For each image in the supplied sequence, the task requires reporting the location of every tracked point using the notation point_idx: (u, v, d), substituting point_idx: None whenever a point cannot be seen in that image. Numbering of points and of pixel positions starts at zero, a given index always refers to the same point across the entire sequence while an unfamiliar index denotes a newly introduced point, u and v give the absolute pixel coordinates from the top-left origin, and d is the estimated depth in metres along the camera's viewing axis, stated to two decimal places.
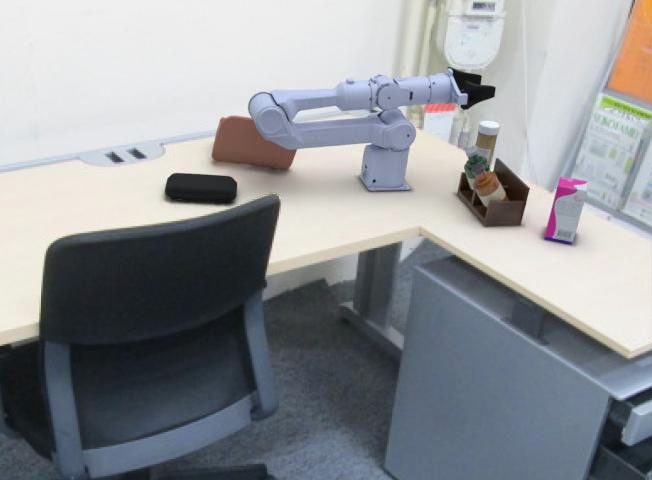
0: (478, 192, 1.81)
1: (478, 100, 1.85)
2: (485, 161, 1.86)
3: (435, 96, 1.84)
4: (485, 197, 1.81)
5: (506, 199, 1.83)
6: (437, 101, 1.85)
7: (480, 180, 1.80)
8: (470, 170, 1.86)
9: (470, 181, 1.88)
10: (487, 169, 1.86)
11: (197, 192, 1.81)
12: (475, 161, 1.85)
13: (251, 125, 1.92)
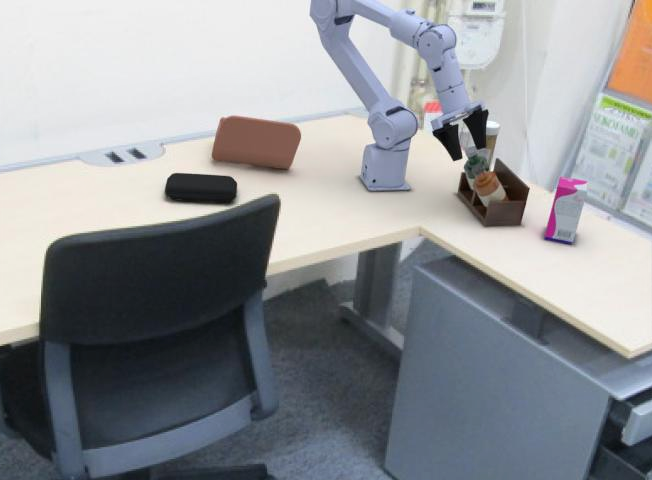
0: (478, 192, 1.81)
1: (445, 144, 1.79)
2: (485, 161, 1.86)
3: (441, 97, 1.77)
4: (485, 197, 1.81)
5: (506, 199, 1.83)
6: (439, 102, 1.79)
7: (480, 180, 1.80)
8: (470, 170, 1.86)
9: (470, 181, 1.88)
10: (487, 169, 1.86)
11: (197, 192, 1.81)
12: (475, 161, 1.85)
13: (251, 125, 1.92)
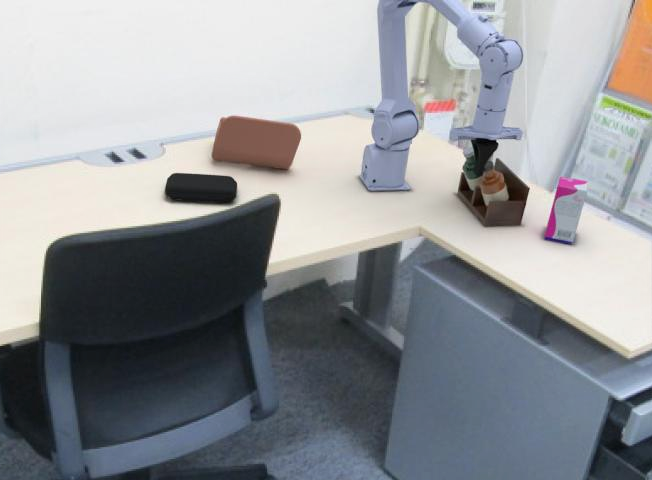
0: (483, 189, 1.81)
1: (475, 154, 1.78)
2: None
3: (476, 111, 1.72)
4: (489, 196, 1.81)
5: None
6: None
7: (487, 177, 1.80)
8: (468, 171, 1.86)
9: (469, 181, 1.88)
10: None
11: (197, 192, 1.81)
12: (473, 162, 1.85)
13: (251, 125, 1.92)
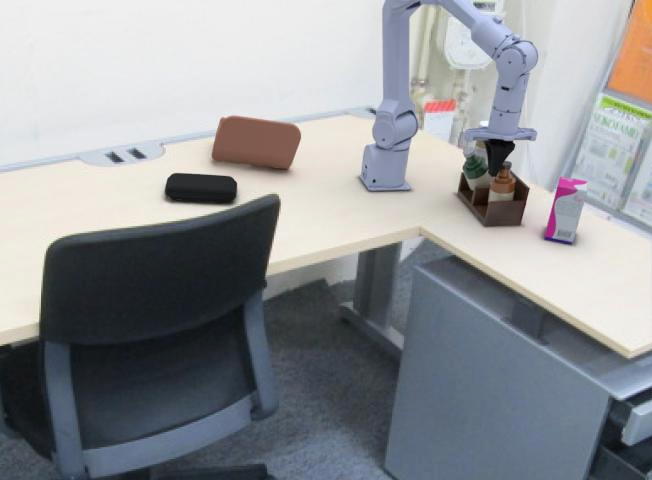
0: (494, 186, 1.81)
1: (488, 154, 1.79)
2: (483, 161, 1.86)
3: (491, 112, 1.73)
4: (497, 194, 1.81)
5: None
6: None
7: (502, 176, 1.80)
8: (468, 171, 1.86)
9: (469, 181, 1.88)
10: (485, 169, 1.86)
11: (197, 192, 1.81)
12: (473, 162, 1.85)
13: (251, 125, 1.92)
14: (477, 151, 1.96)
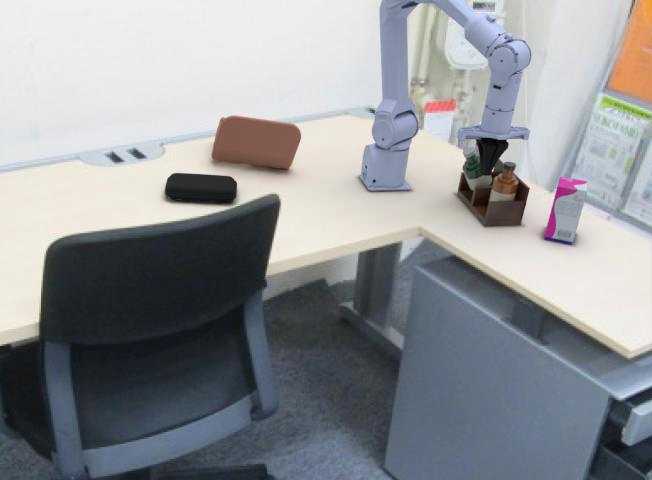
0: (496, 186, 1.81)
1: (480, 153, 1.78)
2: None
3: (484, 111, 1.72)
4: (499, 195, 1.81)
5: None
6: None
7: (505, 177, 1.80)
8: (468, 171, 1.86)
9: (469, 181, 1.88)
10: None
11: (197, 192, 1.81)
12: (473, 162, 1.85)
13: (251, 125, 1.92)
14: (477, 151, 1.96)
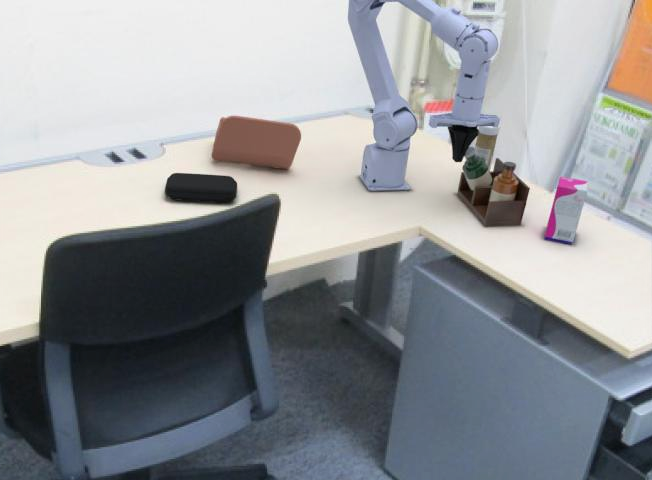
0: (496, 186, 1.81)
1: (452, 140, 1.84)
2: (483, 161, 1.86)
3: (455, 99, 1.78)
4: (499, 195, 1.81)
5: None
6: None
7: (505, 177, 1.80)
8: (468, 171, 1.86)
9: (469, 181, 1.88)
10: (485, 169, 1.86)
11: (197, 192, 1.81)
12: (473, 162, 1.85)
13: (251, 125, 1.92)
14: (477, 151, 1.96)
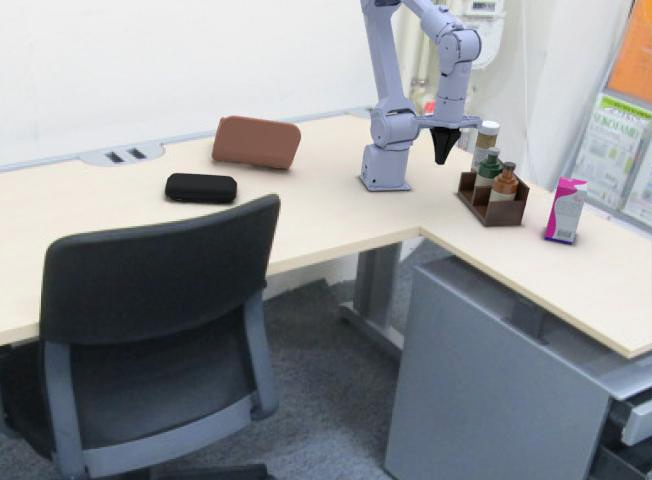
0: (496, 186, 1.81)
1: (434, 143, 1.79)
2: (501, 166, 1.88)
3: (436, 100, 1.73)
4: (499, 195, 1.81)
5: None
6: None
7: (505, 177, 1.80)
8: (485, 168, 1.87)
9: (479, 179, 1.88)
10: None
11: (197, 192, 1.81)
12: (493, 162, 1.86)
13: (251, 125, 1.92)
14: (477, 151, 1.96)
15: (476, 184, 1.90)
